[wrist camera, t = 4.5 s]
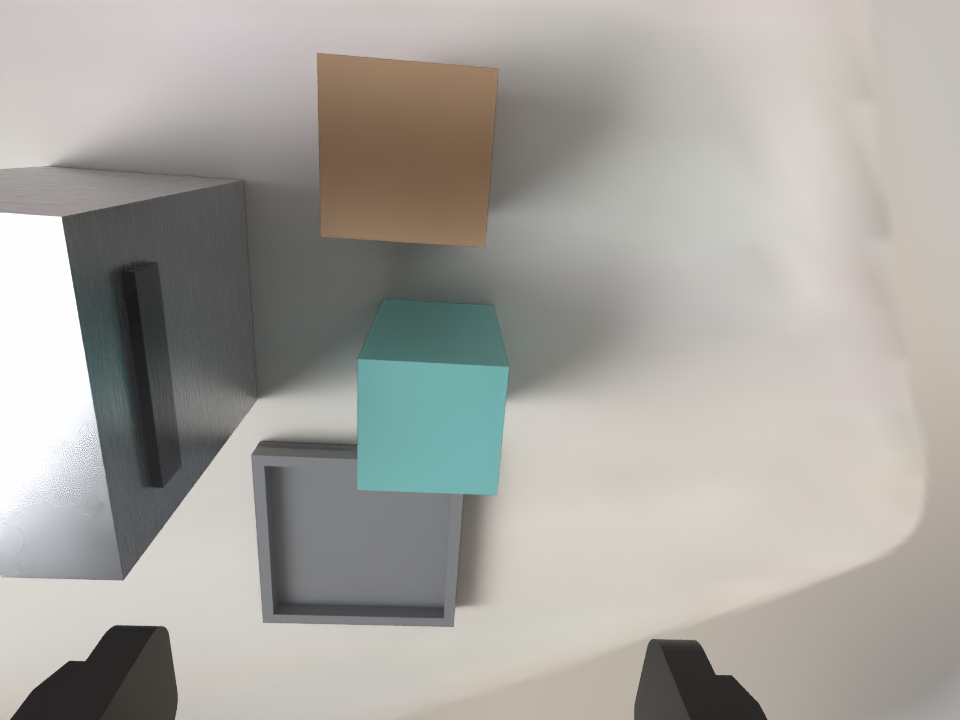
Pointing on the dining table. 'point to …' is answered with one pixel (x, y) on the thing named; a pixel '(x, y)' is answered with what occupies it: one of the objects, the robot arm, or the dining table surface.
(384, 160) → the walnut block
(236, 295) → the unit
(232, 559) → the dining table surface
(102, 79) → the dining table surface
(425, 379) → the teal block
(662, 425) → the dining table surface
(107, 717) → the robot arm
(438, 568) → the tray
